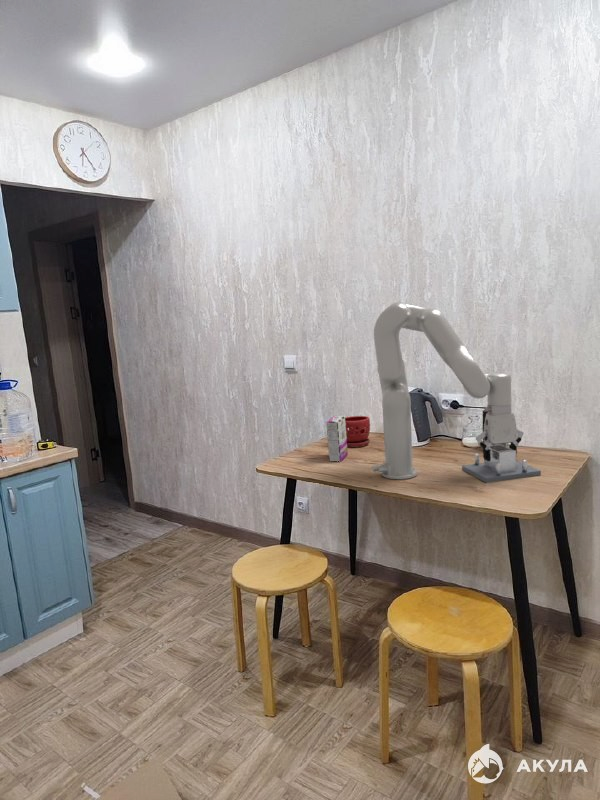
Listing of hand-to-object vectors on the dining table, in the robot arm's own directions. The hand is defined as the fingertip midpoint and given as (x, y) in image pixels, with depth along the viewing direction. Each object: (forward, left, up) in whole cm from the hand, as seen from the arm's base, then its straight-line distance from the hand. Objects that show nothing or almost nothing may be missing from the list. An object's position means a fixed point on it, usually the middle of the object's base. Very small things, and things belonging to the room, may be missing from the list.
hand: (500, 458), depth 187 cm
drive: (0, 0, -3) cm, 3 cm away
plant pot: (-33, +60, -5) cm, 69 cm away
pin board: (0, 0, -5) cm, 5 cm away
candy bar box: (-46, +42, -5) cm, 63 cm away
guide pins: (0, 0, -3) cm, 3 cm away
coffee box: (+14, +26, -5) cm, 30 cm away
